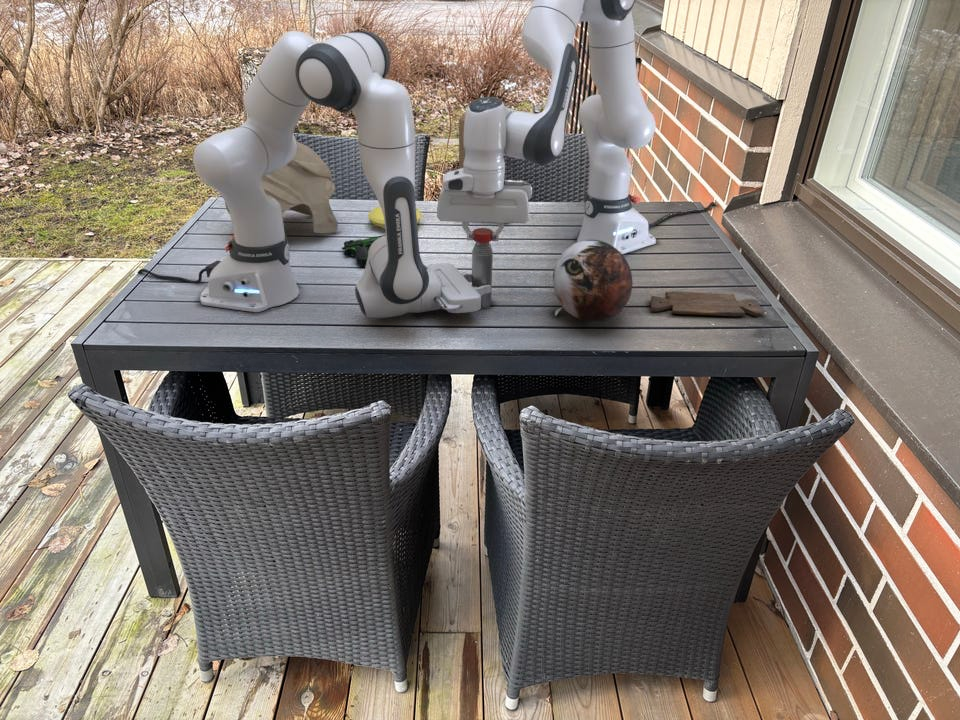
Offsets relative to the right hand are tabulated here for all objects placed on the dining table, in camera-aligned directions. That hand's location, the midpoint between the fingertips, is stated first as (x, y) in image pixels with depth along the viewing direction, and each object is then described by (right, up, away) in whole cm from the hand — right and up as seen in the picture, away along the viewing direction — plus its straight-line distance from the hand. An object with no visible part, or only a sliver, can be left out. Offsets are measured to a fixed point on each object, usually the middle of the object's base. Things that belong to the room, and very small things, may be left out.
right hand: (482, 240), depth 160 cm
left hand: (+1, -9, +6) cm, 11 cm away
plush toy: (+24, -17, +3) cm, 30 cm away
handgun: (-29, +2, +33) cm, 44 cm away
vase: (-26, +13, +52) cm, 60 cm away
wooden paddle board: (+52, -15, +8) cm, 54 cm away
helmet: (-57, +10, +46) cm, 74 cm away
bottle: (0, -14, +8) cm, 16 cm away
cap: (0, +2, -1) cm, 2 cm away
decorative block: (+1, +16, +59) cm, 61 cm away
